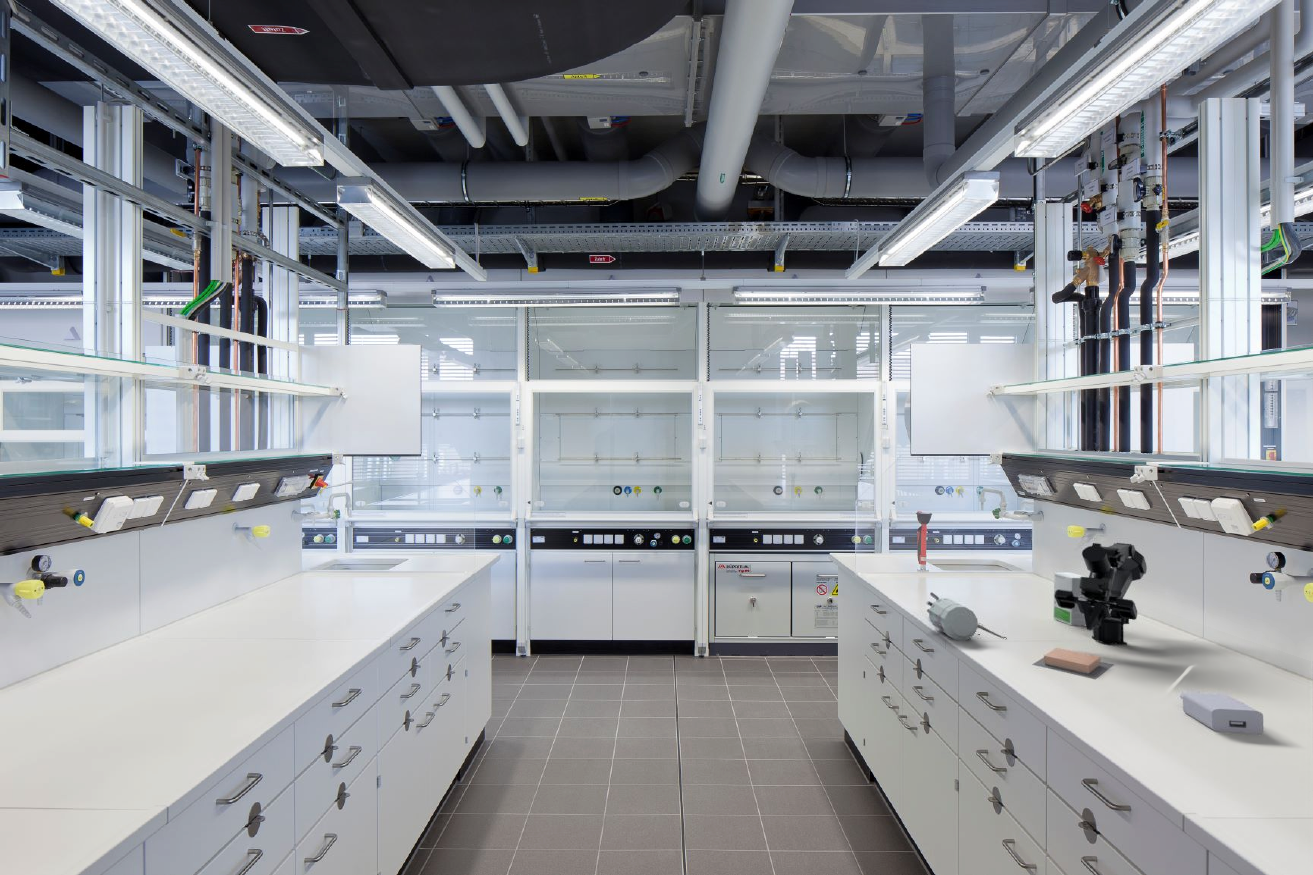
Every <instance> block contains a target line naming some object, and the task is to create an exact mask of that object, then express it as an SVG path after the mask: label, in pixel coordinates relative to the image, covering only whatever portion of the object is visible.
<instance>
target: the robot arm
mask: <svg viewBox="0 0 1313 875" xmlns="http://www.w3.org/2000/svg"><path fill="white" fill-rule="evenodd" d="M1081 556H1082V559H1083V561H1084V563H1085V567H1086V569H1087V570H1088V571H1089V575H1088V576H1084V577H1081V578H1080V586H1079V588H1081V589H1082V590H1081V594H1082V595H1084V596H1078V597H1074V595H1073V593H1072V591H1067V590H1061V589H1058V590H1056V591H1055V594H1054V593H1053V598H1054V597H1055V599H1056V601H1057V604H1058V606H1059V607H1061V608H1067V609H1073V608H1075V605H1076V604H1077V605H1078V608H1079V610H1080V612H1081V613H1083V614H1084V617H1085V623H1086V625H1085V628H1086V630H1087V631H1092V629H1093V634H1092V635H1091V639H1093V640H1095V641H1097V642H1100V643H1101V644H1104V645H1128V642H1126V641H1124V640H1125V639H1124V635H1125V634H1124V625H1129V624H1130V620H1132V621H1135V620H1137V617H1138V610H1137V607H1136V604H1135V601H1134V600H1133V599H1128V598H1127V599H1126V598H1124V597H1125V595H1126V593H1127V591H1128V589H1129V588H1130V586H1131V584H1132V582H1134V581H1140V580H1141V579H1142V578H1143V577H1144V575H1146V573H1147V569H1148V568H1147V566H1148V565H1147V563H1146V559H1145V556H1144V555H1143V554H1142V553H1141V552H1139V551H1138V550H1136V548H1135V545H1133V544H1132V543H1123V542H1115V543H1113V544H1112V545H1110V546H1102V544H1101V543H1098V542H1095V543H1094V542H1093V543H1092V545H1090V546H1087V547H1086V548H1084V549H1083V550H1082V552H1081Z"/></svg>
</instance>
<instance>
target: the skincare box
mask: <svg viewBox="0 0 1313 875" xmlns="http://www.w3.org/2000/svg"><path fill="white" fill-rule="evenodd" d="M1053 575H1054V576H1053V577H1054V581H1053V583H1054V585H1053V595H1054V594H1055V591H1056V590H1058V589H1061V590H1067V591H1072V593H1073V595H1074V597H1078V596H1084V595H1082V594H1081V590H1082V589H1081V588H1079V586H1080V578H1081V577H1085V575H1081V574H1078V573H1074V572H1069V571H1068V572H1066V571H1065V572H1054V574H1053ZM1052 617H1053V619H1054V620H1056V621H1059V622H1062V623H1064V624H1067V625H1068V626H1086V623H1085V617H1084V614H1083V613H1081V612H1080V610H1079V608H1078V605H1077V604H1076V605H1075V608H1073V609H1067V608H1061V607H1059V606H1058V604H1057V601H1056V599H1055V597H1054V596H1053V616H1052Z"/></svg>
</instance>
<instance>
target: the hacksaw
mask: <svg viewBox="0 0 1313 875" xmlns="http://www.w3.org/2000/svg"><path fill="white" fill-rule="evenodd" d="M978 628H979V629H981V630H983V631H985V632H987V633H989V634H991V635H993V636H996V637H998V638H1001V639H1002V640H1003V639H1004V638H1006V639H1007V636H1003V635H999V634H998V633H996V632H994V631H991V630H990V629H988V628H986V627H984V626H983V624H982V623H980V622H978ZM978 628H977V629H978ZM980 634H981V633H980ZM980 634H977V636H981V635H980ZM1004 640H1005V639H1004Z"/></svg>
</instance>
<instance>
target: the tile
mask: <svg viewBox="0 0 1313 875" xmlns="http://www.w3.org/2000/svg"><path fill="white" fill-rule="evenodd" d="M1043 658H1044V663H1045V664H1046V665H1050V666H1054V667H1059V668H1063V669H1067V670H1072V671H1076V672H1080V673H1085V674H1089V673H1090V672H1091V671H1093V670H1094V669H1095V668H1097V667H1098V666H1099V665H1101V662H1102V661H1101V656H1098V655H1093V654H1090V653H1089V654H1088V653H1084V652H1079V651H1075V650H1070V649H1065V648H1061V647H1055V648H1054V649H1052V650H1051V651H1048V652H1047V653H1046V654H1044V655H1043Z"/></svg>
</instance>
